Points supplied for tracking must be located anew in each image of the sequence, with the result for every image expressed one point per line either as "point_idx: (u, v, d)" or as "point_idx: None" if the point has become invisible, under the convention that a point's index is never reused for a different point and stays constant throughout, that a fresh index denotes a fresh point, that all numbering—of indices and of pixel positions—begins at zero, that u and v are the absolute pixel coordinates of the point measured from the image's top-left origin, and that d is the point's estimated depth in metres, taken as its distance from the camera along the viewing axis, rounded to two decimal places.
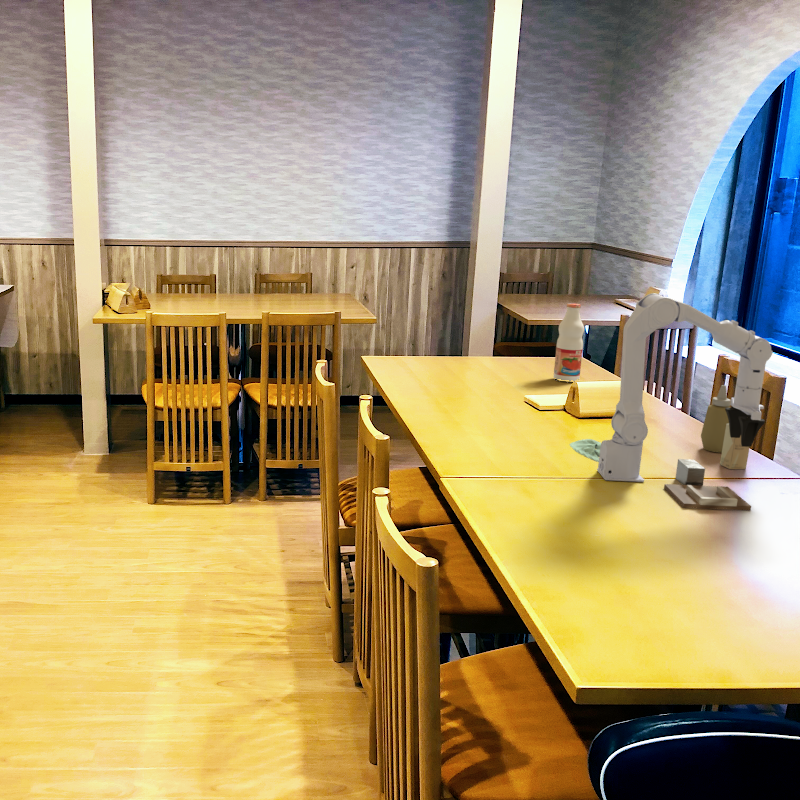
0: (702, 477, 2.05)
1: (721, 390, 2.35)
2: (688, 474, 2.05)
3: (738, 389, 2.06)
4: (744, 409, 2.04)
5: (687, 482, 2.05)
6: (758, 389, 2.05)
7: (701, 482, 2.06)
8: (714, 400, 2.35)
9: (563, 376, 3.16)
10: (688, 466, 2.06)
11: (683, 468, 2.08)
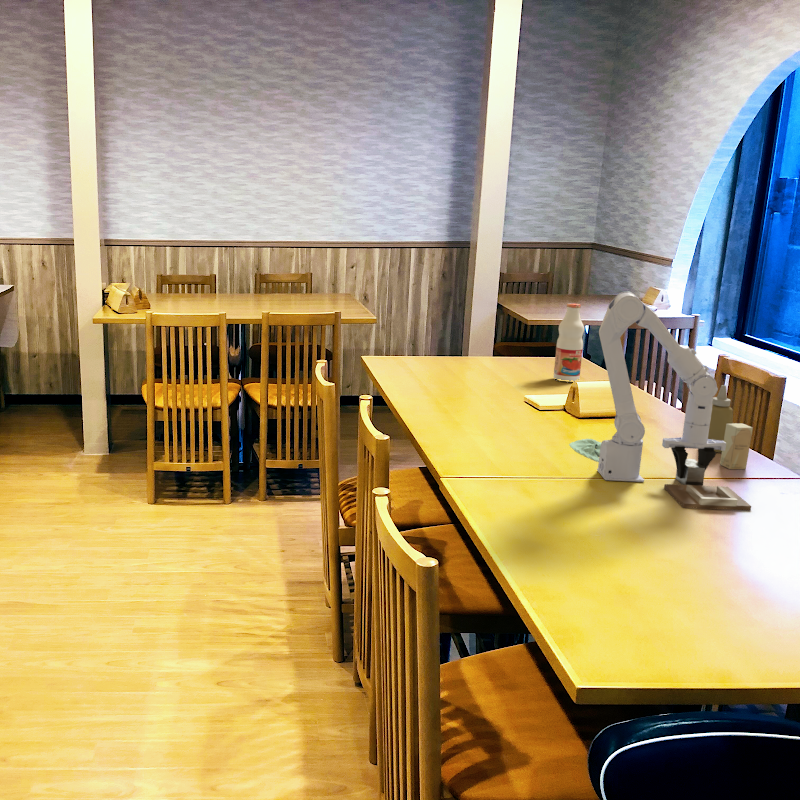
0: (702, 476, 2.05)
1: (721, 390, 2.35)
2: (689, 473, 2.05)
3: None
4: None
5: (687, 481, 2.05)
6: (688, 423, 2.04)
7: (701, 481, 2.06)
8: (714, 400, 2.35)
9: (563, 376, 3.16)
10: (688, 465, 2.06)
11: None
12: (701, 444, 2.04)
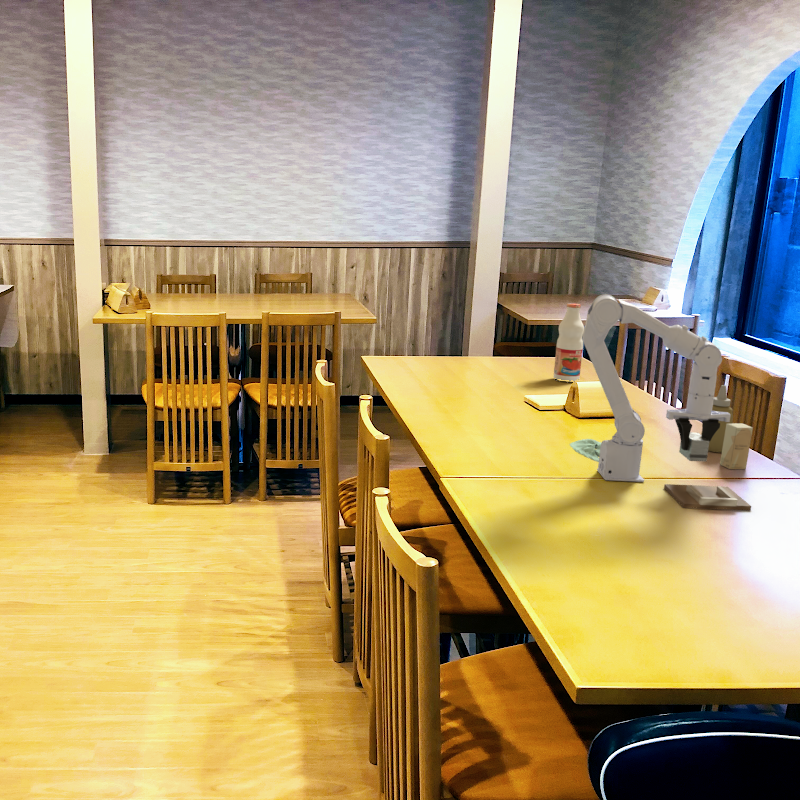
0: (706, 449, 2.04)
1: (721, 390, 2.35)
2: (693, 446, 2.03)
3: None
4: None
5: (691, 455, 2.04)
6: (692, 394, 2.03)
7: (705, 455, 2.04)
8: (714, 400, 2.35)
9: (563, 376, 3.16)
10: (692, 438, 2.04)
11: None
12: (705, 415, 2.02)
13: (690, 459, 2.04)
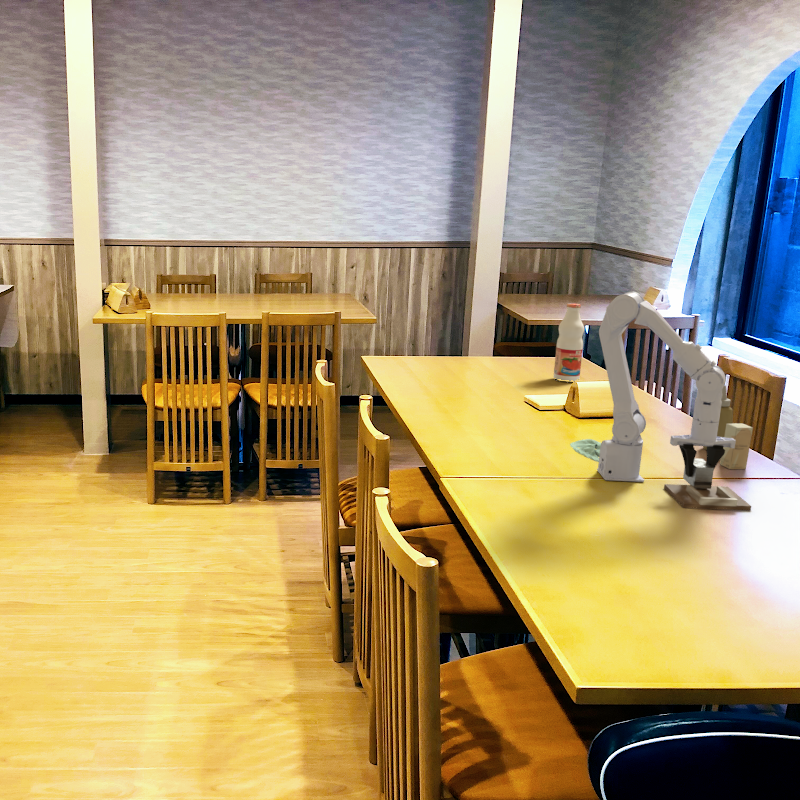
0: (711, 476, 2.00)
1: None
2: (697, 473, 2.00)
3: None
4: None
5: (695, 482, 2.01)
6: (697, 420, 1.99)
7: (710, 482, 2.01)
8: None
9: (563, 376, 3.16)
10: (696, 465, 2.01)
11: None
12: (710, 441, 1.98)
13: (694, 486, 2.01)
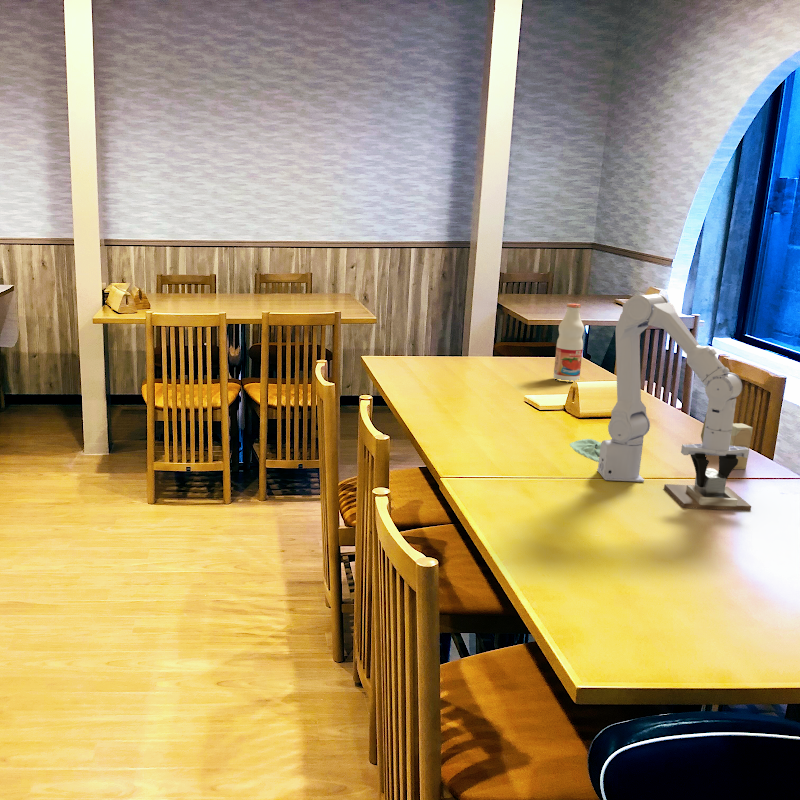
0: (723, 487, 1.93)
1: None
2: (709, 484, 1.93)
3: None
4: None
5: (707, 493, 1.94)
6: (709, 429, 1.92)
7: (722, 493, 1.94)
8: None
9: (563, 376, 3.16)
10: (708, 476, 1.94)
11: None
12: (723, 451, 1.91)
13: None
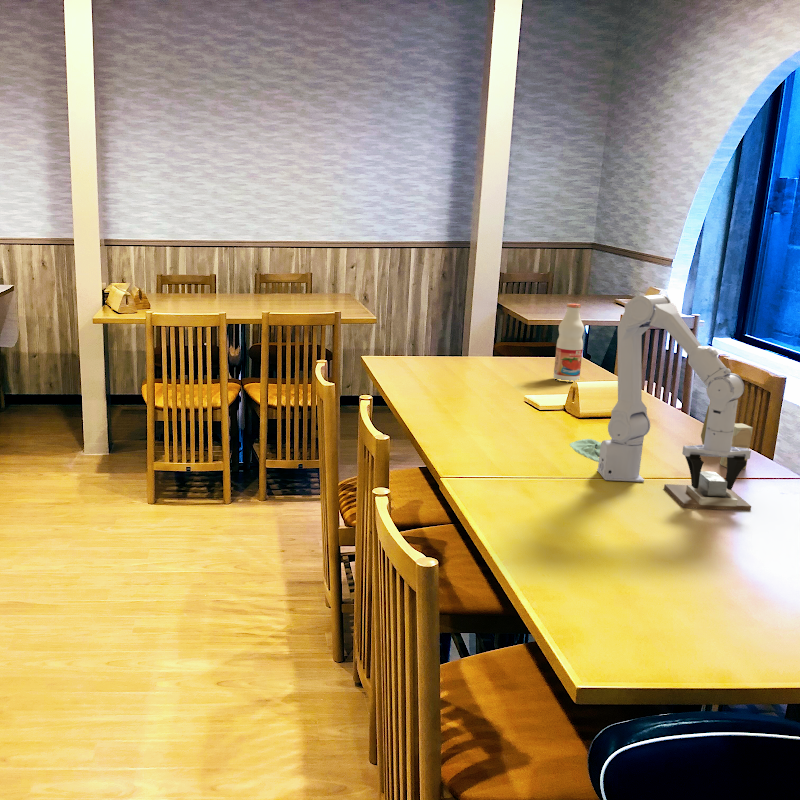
0: (724, 490, 1.93)
1: None
2: (710, 487, 1.92)
3: None
4: None
5: (708, 496, 1.93)
6: (711, 430, 1.91)
7: (723, 496, 1.93)
8: None
9: (563, 376, 3.16)
10: (709, 479, 1.93)
11: (703, 481, 1.95)
12: (724, 452, 1.90)
13: None
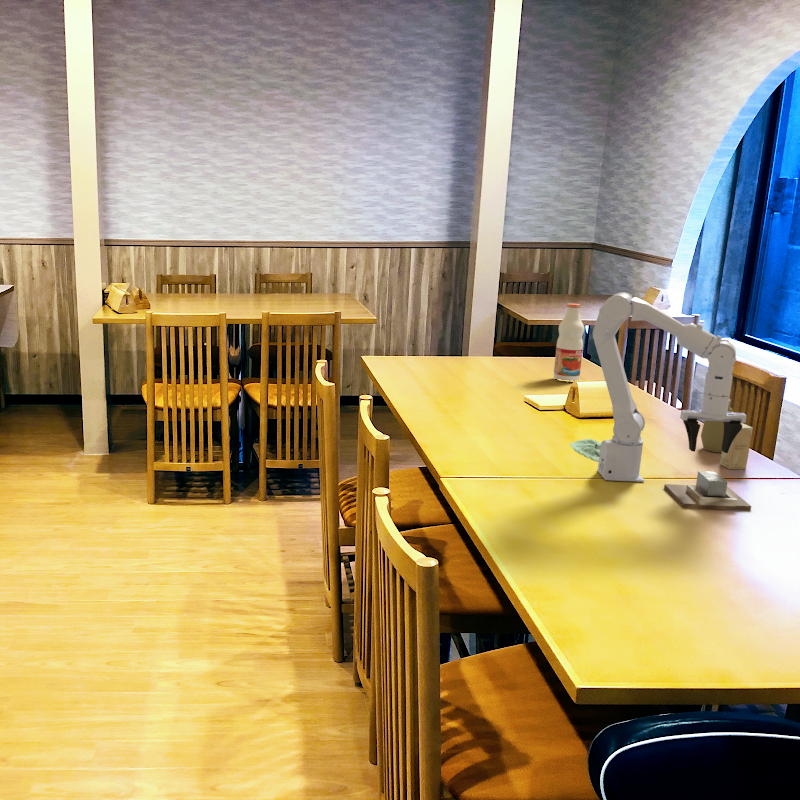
0: (724, 490, 1.93)
1: None
2: (710, 487, 1.92)
3: None
4: None
5: (708, 496, 1.93)
6: (707, 395, 1.98)
7: (723, 496, 1.93)
8: None
9: (563, 376, 3.16)
10: (709, 479, 1.93)
11: (703, 481, 1.95)
12: (721, 416, 1.98)
13: None
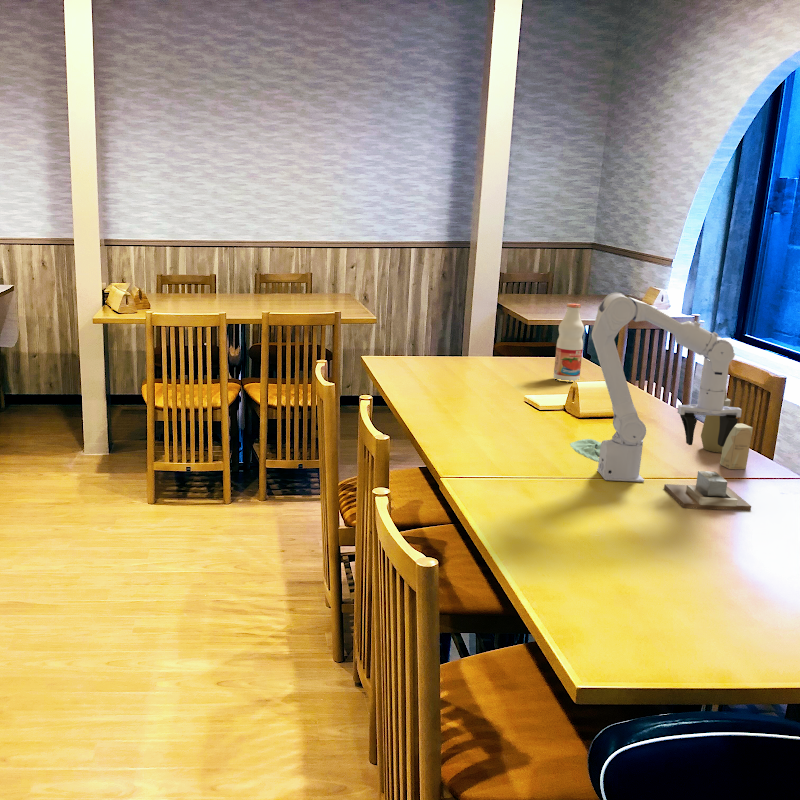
0: (724, 490, 1.93)
1: None
2: (710, 487, 1.92)
3: None
4: None
5: (708, 496, 1.93)
6: (704, 390, 2.04)
7: (723, 496, 1.93)
8: None
9: (563, 376, 3.16)
10: (709, 479, 1.93)
11: (703, 481, 1.95)
12: (717, 410, 2.03)
13: None
